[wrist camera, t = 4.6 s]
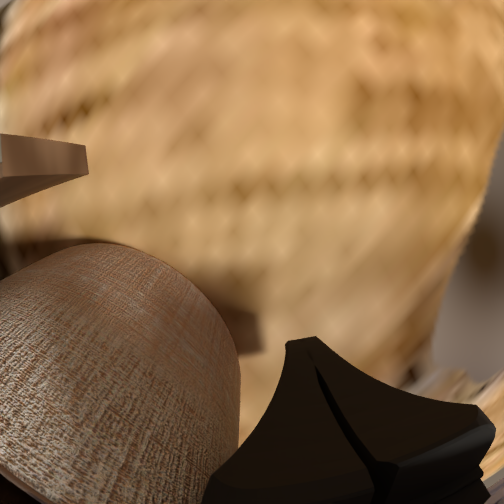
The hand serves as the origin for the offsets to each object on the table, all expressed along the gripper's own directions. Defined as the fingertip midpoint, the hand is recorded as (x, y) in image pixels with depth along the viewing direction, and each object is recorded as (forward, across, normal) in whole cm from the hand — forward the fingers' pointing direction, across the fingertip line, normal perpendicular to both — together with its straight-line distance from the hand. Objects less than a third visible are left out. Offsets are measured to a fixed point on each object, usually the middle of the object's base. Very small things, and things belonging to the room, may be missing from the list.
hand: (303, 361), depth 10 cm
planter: (+2, +8, 0) cm, 8 cm away
